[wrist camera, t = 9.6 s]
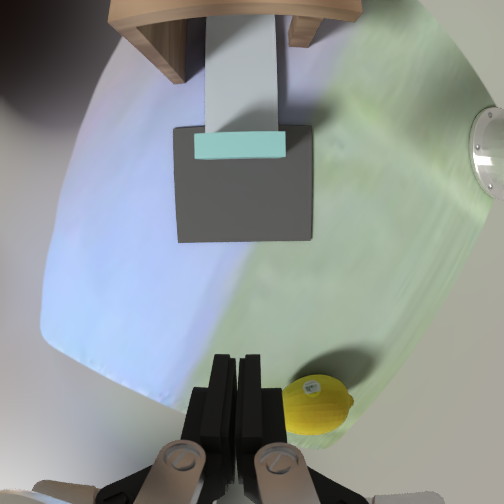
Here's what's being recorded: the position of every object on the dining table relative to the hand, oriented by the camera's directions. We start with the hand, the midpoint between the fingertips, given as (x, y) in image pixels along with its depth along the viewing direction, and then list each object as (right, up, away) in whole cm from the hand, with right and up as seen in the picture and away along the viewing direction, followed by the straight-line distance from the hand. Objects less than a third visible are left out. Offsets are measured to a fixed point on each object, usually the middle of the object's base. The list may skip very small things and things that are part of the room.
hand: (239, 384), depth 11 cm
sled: (-1, +25, +16) cm, 29 cm away
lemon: (+8, -13, +27) cm, 31 cm away
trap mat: (0, +12, +20) cm, 23 cm away
